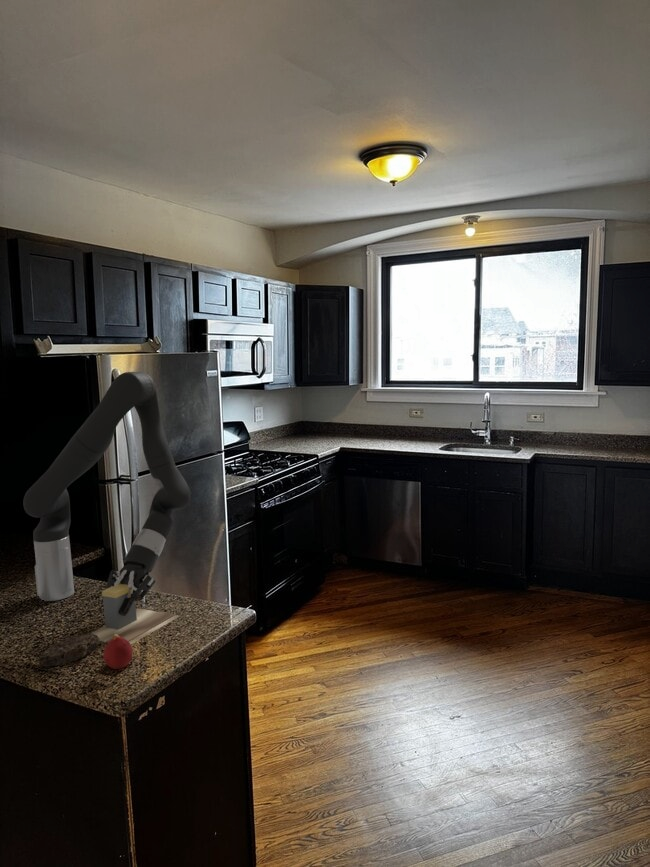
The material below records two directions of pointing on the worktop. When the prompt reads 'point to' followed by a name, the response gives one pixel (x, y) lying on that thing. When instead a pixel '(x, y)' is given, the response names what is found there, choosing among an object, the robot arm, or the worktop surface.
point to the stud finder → (117, 607)
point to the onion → (118, 653)
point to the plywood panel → (137, 626)
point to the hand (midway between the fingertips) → (114, 612)
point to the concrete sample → (69, 650)
